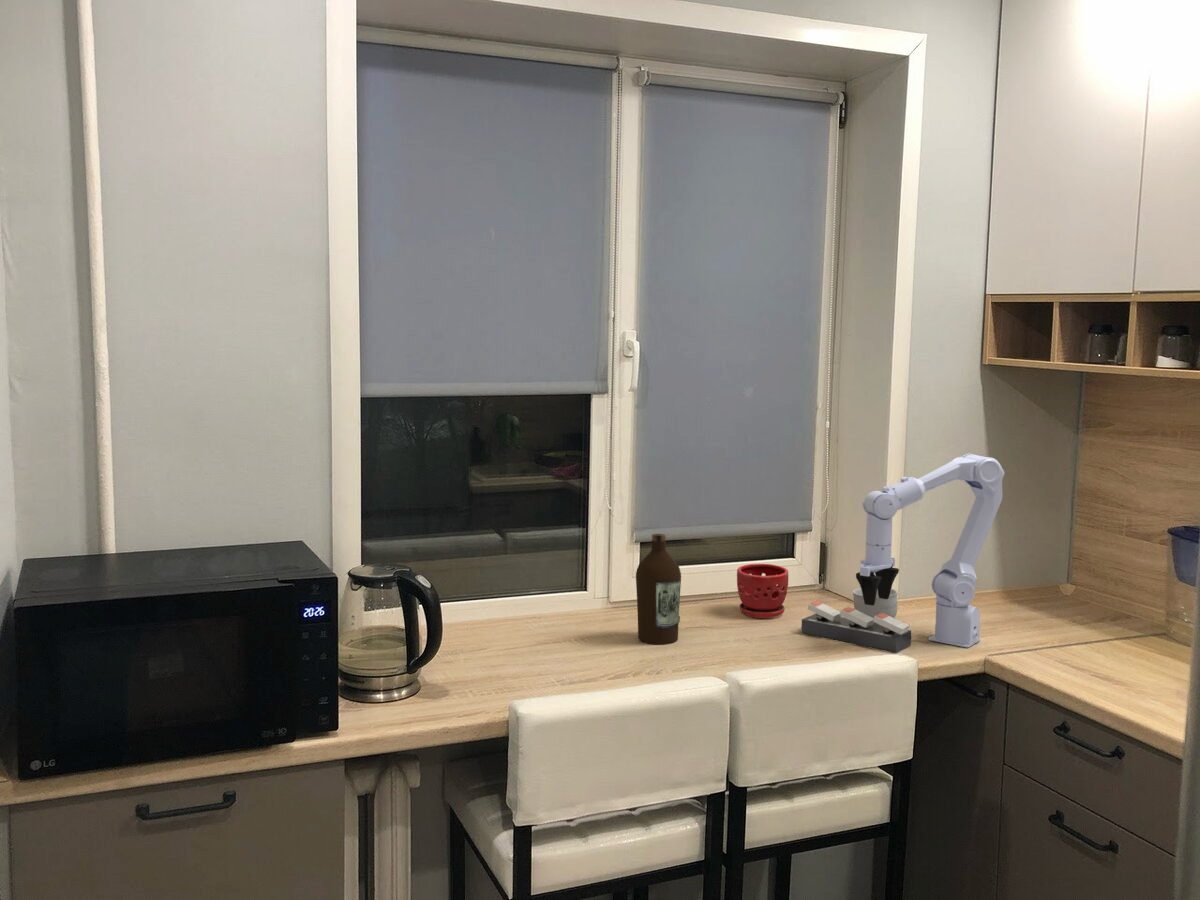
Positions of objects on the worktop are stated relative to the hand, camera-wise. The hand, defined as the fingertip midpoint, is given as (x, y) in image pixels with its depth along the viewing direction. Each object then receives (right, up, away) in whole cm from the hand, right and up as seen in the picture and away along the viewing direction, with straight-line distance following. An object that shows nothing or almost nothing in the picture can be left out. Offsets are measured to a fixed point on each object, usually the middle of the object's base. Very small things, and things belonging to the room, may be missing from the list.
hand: (876, 601), depth 234 cm
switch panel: (-4, -10, +5) cm, 11 cm away
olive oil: (-50, -10, +5) cm, 51 cm away
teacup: (+6, -8, +21) cm, 23 cm away
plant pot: (-22, -8, +27) cm, 36 cm away
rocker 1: (-10, -5, +10) cm, 15 cm away
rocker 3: (+3, -6, -1) cm, 7 cm away
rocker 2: (-4, -6, +4) cm, 8 cm away
